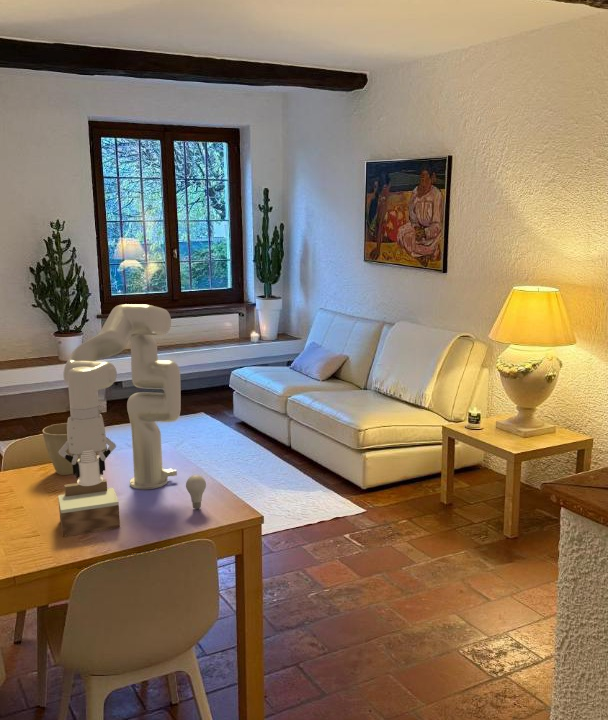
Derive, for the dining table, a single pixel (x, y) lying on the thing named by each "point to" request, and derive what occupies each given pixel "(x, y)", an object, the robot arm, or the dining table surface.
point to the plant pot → (58, 447)
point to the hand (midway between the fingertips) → (89, 474)
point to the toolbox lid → (87, 497)
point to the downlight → (89, 469)
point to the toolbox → (89, 520)
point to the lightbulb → (196, 489)
